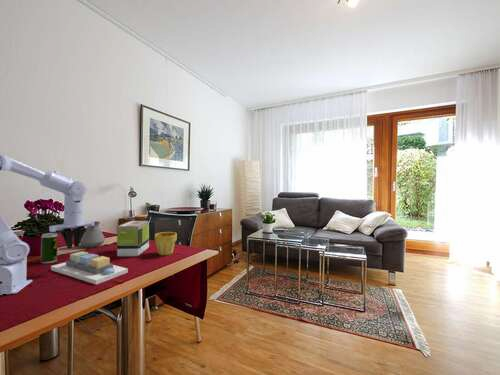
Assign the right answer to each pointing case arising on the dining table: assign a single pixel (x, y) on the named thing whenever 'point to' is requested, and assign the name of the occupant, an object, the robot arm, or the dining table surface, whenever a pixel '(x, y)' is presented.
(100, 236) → the coffee pot
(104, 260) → the ochre button
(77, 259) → the sage button
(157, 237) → the plant pot
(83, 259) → the blue button
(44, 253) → the beer can
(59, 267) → the white rectangular tray
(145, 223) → the tea box
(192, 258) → the dining table surface
